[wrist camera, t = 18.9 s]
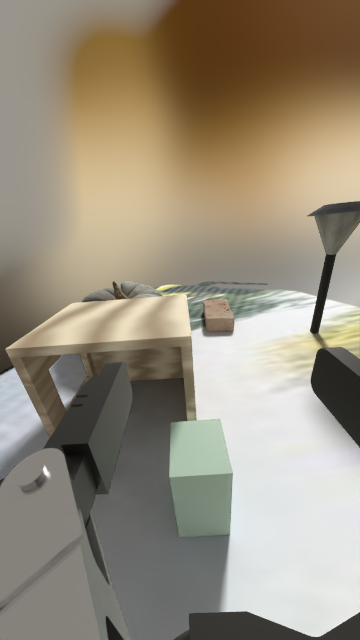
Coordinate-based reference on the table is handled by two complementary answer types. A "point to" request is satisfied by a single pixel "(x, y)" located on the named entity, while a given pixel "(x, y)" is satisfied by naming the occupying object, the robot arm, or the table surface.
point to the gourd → (122, 292)
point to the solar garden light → (332, 244)
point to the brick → (218, 316)
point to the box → (108, 347)
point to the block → (200, 478)
